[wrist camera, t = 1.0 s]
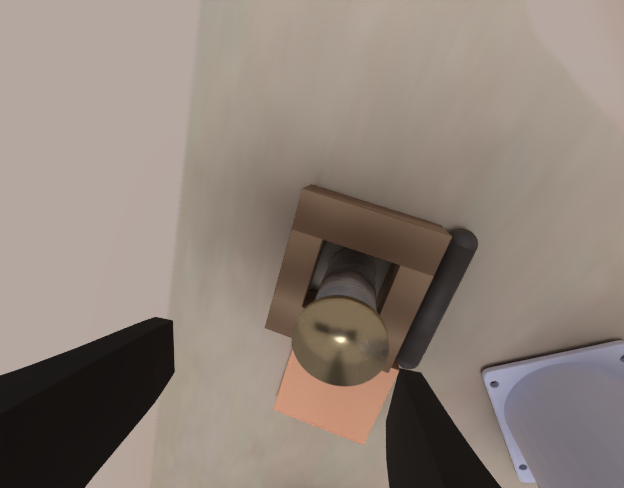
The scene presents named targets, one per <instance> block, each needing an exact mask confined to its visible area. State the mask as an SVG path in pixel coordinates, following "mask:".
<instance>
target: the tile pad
mask: <svg viewBox="0 0 624 488" xmlns="http://www.w3.org/2000/svg"><path fill="white" fill-rule="evenodd" d="M398 372H399V365H398V363H397V361H396V359H395V360H394V362H393V365H392V367H391V369H390V371H389V373H386V372H384V371H381V372H380V373H379V374H378V375H377V376H375V377H374V378H373V379H371V380H369V381H368V382H365V383H363V384H360V385H356V386H346V387H344V386H335V385H331V384H327V383H324V382H322V381H320V380H318V379H316V378H314V377H313V376H311V375H310V374H309V373H308V372H307V371H306V370H305V369H304V368H303V367H302V366H301V365H300V363H299V362H298V360H297V359H296V357H295V354H294V351H293V349H292V352H291V355H290V358H289V361H288V365H287V368H286V371H285V374H284V377H283V380H282V383H281V386H280V390H279V393H278V396H277V399H276V402H275V405H274V408H273V410H275V411H278V412H281V413H283V414H286V415H288V416H291V417H293V418H296V419H298V420H301V421H304V422H306V423H309V424H311V425H314V426H316V427H319V428H321V429H324V430H327V431H329V432H332V433H334V434H337V435H339V436H342V437H344V438H347V439H350V440H352V441H355V442H357V443H360V444H362V445H364V443H365V441H366V439H367V437H368V435H369V433H370V431H371V428H372V426H373V424H374V422H375V420H376V418H377V416H378V414H379V412H380V410H381V408H382V406H383V404H384V401H385V399H386V397H387V395H388V393H389V391H390V389H391V387H392V385H393V383H394V381H395V379H396V377H397V374H398Z"/></svg>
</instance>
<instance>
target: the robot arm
mask: <svg viewBox="0 0 624 488" xmlns="http://www.w3.org/2000/svg"><path fill="white" fill-rule="evenodd" d="M623 355H624V341H622V340H619V341H613V342H608V343H604V344H599V345H594V346H589V347H585V348H580V349H575V350H570V351H566V352H561V353H556V354H552V355H547V356H542V357H537V358H533V359H528V360H523V361H518V362H514V363H509V364H504V365H499V366H495V367H490V368H486V369H484V370H483V372H482V378H483V380H484V383H485V386H486V389H487V392H488V395H489V397H490V400H491V403H492V406H493V409H494V411H495V414H496V417H497V420H498V423H499V426H500V428H501V431H502V434H503V437H504V440H505V442H506V445H507V448H508V451H509V454H510V457H511V459H512V462H513V465H514V468H515V471H516V474H517V476H518V478H519V480H520V481H522V482H524V483H534V482H536V483H537V485H538V487H539V488H624V357H623V358H621V357H622V356H623ZM174 372H175V368H174V340H173V320H168V319H163V318H158V317H154V318H151V319H148V320H145V321H142V322H140V323H137V324H135V325H132V326H130V327H127V328H124V329H122V330H120V331H117V332H115V333H112V334H110V335H107V336H105V337H102V338H100V339H97V340H95V341H92V342H90V343H88V344H85V345H83V346H80V347H78V348H75V349H72V350H70V351H67V352H64V353H62V354H59V355H56V356H54V357H51V358H48V359H46V360H43V361H40V362H38V363H35V364H32V365H30V366H27V367H24V368H22V369H18V370H15V371H12V372H10V373H6V374H3V375H0V488H85V487H86V485H87V484H88V483H89V481H90V480H91V479H92V477H93V476H94V475H95V474H96V473H97V471H98V470H99V469H100V468H101V467H102V466H103V464H104V463H105V462H106V461H107V460H108V458H109V457H110V456H111V455H112V454H113V452H114V451H115V450H116V449H117V448H118V446H119V445H120V444H121V443H122V442H123V440H124V439H125V438H126V437H127V436H128V434H129V433H130V432H131V431H132V430H133V429H134V427H135V426H136V425H137V424H138V422H139V421H140V420H141V419H142V418H143V416H144V415H145V414H146V413H147V412H148V410H149V409H150V408H151V407H152V405H153V404H154V403H155V402H156V400H157V399H158V397H159V396H160V394H161V393H162V391H163V390H164V388H165V387H166V385H167V383H168V382H169V380H170V379H171V377H172V376H173V374H174ZM492 381H496V382H495V383H491V382H492ZM386 460H387V470H388V479H389V488H501V487H500V485H499V484H498V483H497V482H496V480H495V479H494V478H493V476H492V475H491V474H490V472H489V471H488V470H487V469H486V467H485V466H484V465H483V463H482V462H481V460H480V459H479V458H478V456H477V455H476V454H475V452H474V451H473V450H472V448H471V447H470V445H469V444H468V442H467V441H466V440H465V438H464V437H463V435H462V434H461V432H460V431H459V430H458V428H457V427H456V425H455V424H454V422H453V421H452V419H451V418H450V416H449V415H448V413H447V412H446V410H445V409H444V407H443V406H442V404H441V403H440V401H439V400H438V398H437V396H436V395H435V393H434V392H433V390H432V389H431V387H430V386H429V384H428V382H427V381H426V379H425V378H424V376H423V375H422V373H420V372H415V371H410V370H406V369H401V368H399V372H398V376H397V380H396V384H395V388H394V392H393V396H392V400H391V404H390V408H389V412H388V415H387V419H386Z"/></svg>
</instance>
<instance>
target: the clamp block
mask: <svg viewBox="0 0 624 488" xmlns="http://www.w3.org/2000/svg"><path fill="white" fill-rule="evenodd" d="M325 240H326V241H329V242H332V243H335V244H338V245H341V246H344V247H347V248H350V249H353V250H356V251H359V252H362V253H365V254H368V255H371V256H374V257H377V258H380V259H383V260H386V261H389V262H392V264H391V266H390V268H389V271H388V273H387V276H386V278H385V281H384V283H383V286H382V288H381V291H380V293H379V295H378V298H377V300H376V311H377V313H378V314H379V315H380V317H381V318H382V320H383V322H384V324H385V326H386V329H387V333H388V341H389V354H388V359H387V362H386V364H385V366H384V367H383V369H382V370H381V371H384V372H386V373H389V371H390V369H391V367H392V365H393V362H394V360H395V359H396V361H397V363H398V364H399V365H400V366H401V367H403V368H405V369H413V368H415V367H417V366H418V364H419V363H420V361H421V359H422V357H423V355H424V353H425V351H426V349H427V347H428V345H429V343H430V341H431V339H432V337H433V335H434V333H435V331H436V329H437V327H438V325H439V323H440V321H441V319H442V317H443V315H444V313H445V311H446V309H447V307H448V305H449V303H450V301H451V299H452V297H453V295H454V293H455V291H456V289H457V287H458V285H459V283H460V281H461V279H462V277H463V275H464V273H465V272H466V270H467V268H468V266H469V264H470V262H471V260H472V258H473V256H474V254H475V252H476V250H477V247H478V241H477V238H476V236H475V235H474V234H473V233H472V232H470V231H468V230H463V229H461V230H456V231H454V232H452V233H451V234H449V233H448V232H447V231H446V230H445V229H444V228H443V227H442V226H441V225H438V224H434V223H431V222H428V221H425V220H422V219H419V218H415V217H412V216H409V215H406V214H403V213H400V212H396V211H393V210H390V209H387V208H384V207H381V206H378V205H374V204H371V203H368V202H365V201H362V200H359V199H355V198H352V197H349V196H346V195H343V194H340V193H336V192H333V191H330V190H327V189H324V188H321V187H317V186H314V185H309V186H307V187H306V188H304V189H302V193H301V197H300V200H299V204H298V208H297V211H296V215H295V219H294V222H293V226H292V230H291V233H290V237H289V241H288V244H287V248H286V252H285V255H284V259H283V263H282V266H281V270H280V274H279V277H278V281H277V285H276V288H275V292H274V296H273V299H272V303H271V307H270V310H269V314H268V318H267V321H266V325H265V328H266V329H269V330H272V331H274V332H277V333H280V334H283V335H285V336H288V337H291V338H292V333H293V329H294V326H295V324H296V321H297V319H298V317H299V315H300V313H301V312H302V311H303V309H304V308H305V307H306V306H307V305H309V304H310V303H311V302H313V301H315V299H316V296H317V294H318V292H317V291H314V290H311V289H310V286H311V282H312V279H313V276H314V273H315V270H316V267H317V263H318V260H319V257H320V254H321V251H322V248H323V244H324V241H325Z"/></svg>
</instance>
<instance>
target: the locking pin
mask: <svg viewBox="0 0 624 488" xmlns="http://www.w3.org/2000/svg"><path fill="white" fill-rule="evenodd" d="M292 348H293V351H294V354H295V357H296V359H297V360H298V362H299V363H300V365H301V366H302V367H303V368H304V369H305V370H306V371H307V372H308V373H309V374H310V375H311V376H313V377H314V378H316V379H318V380H320V381H322V382H324V383H327V384H331V385H335V386H344V387H346V386H356V385H360V384H363V383H365V382H368V381H369V380H371V379H373V378H374V377H375V376H377V375H378V374H379V373H380V372H381V370H382V369H383V367H384V366H385V364H386V362H387V359H388V354H389V341H388V333H387V329H386V326H385V324H384V322H383V320H382V318H381V317H380V315H379V314H378V313H377V311H376V288H375V268H374V264H373V262H372V260H371V259H370V257H369V256H368V255H367V254H365V253H362V252H359V251H356V250H353V249H344V250H341V251H339V252H337V253H336V254H335V255H334V256H333V257H332V258H331V260H330V262H329V264H328V267H327V270H326V272H325V275H324V278H323V280H322V283H321V286H320V288H319V291H318V294H317V296H316V299H315V301H313V302H311V303H310V304H309V305H307V306H306V307H305V308H304V309H303V311H302V312H301V313H300V315H299V317H298V319H297V321H296V324H295V326H294V329H293V333H292Z"/></svg>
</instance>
